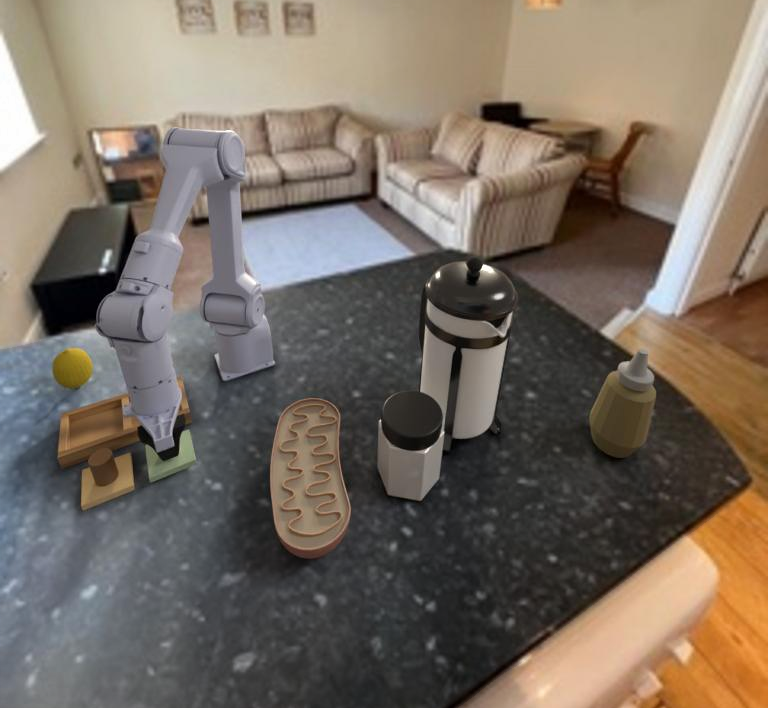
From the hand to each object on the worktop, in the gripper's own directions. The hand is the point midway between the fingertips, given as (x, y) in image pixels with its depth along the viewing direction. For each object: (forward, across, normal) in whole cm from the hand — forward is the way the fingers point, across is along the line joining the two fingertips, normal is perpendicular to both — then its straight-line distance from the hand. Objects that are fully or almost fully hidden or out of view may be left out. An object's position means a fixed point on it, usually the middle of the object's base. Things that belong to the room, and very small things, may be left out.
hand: (168, 447), depth 63 cm
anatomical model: (+3, +13, +16) cm, 21 cm away
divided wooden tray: (+3, -11, -5) cm, 12 cm away
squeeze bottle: (+3, +29, +60) cm, 67 cm away
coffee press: (+3, +12, +41) cm, 43 cm away
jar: (+3, +18, +29) cm, 34 cm away
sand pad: (+3, -1, -8) cm, 9 cm away
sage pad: (+2, 0, 0) cm, 2 cm away
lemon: (+3, -24, -12) cm, 27 cm away
